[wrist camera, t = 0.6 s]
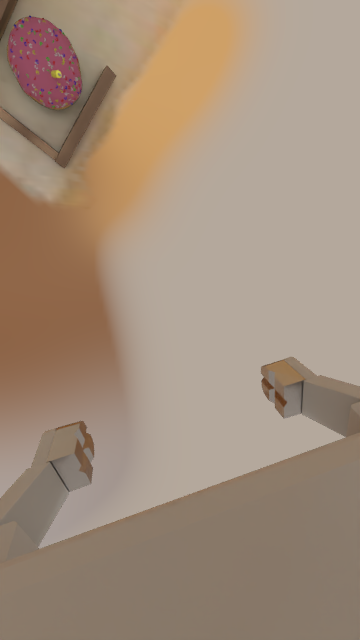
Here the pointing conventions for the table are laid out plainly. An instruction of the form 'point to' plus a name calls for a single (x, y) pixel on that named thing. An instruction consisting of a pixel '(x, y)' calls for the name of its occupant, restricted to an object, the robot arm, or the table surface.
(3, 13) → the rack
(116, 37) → the table surface
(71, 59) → the cupcake
